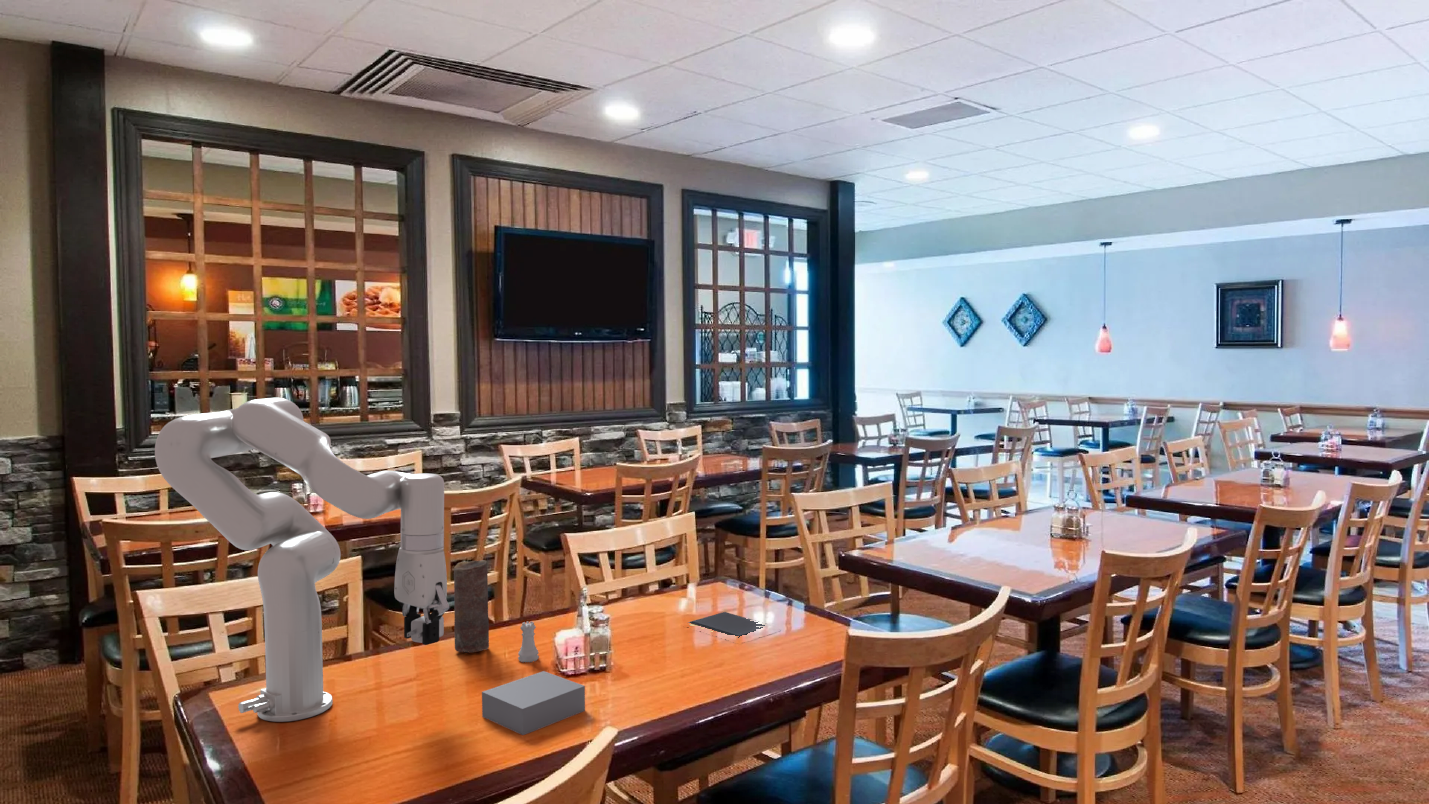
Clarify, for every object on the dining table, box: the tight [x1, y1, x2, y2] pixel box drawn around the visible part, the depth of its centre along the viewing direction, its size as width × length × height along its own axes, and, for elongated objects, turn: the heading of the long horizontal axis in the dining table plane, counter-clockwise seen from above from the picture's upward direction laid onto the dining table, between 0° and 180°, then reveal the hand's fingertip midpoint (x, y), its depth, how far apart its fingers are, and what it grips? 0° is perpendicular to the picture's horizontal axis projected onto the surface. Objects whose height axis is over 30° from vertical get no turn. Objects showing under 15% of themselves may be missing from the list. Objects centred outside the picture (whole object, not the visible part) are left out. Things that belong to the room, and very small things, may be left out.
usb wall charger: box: [407, 615, 445, 644], centre depth 163 cm, size 4×7×4 cm, turn 164°
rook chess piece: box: [517, 620, 540, 664], centre depth 191 cm, size 4×4×8 cm
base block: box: [481, 670, 586, 736], centre depth 163 cm, size 14×12×5 cm
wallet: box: [688, 611, 765, 638], centre depth 214 cm, size 20×2×15 cm
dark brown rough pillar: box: [453, 559, 490, 654], centre depth 196 cm, size 8×7×20 cm
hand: (421, 638), depth 163 cm, fingers closed on usb wall charger, 4 cm apart
